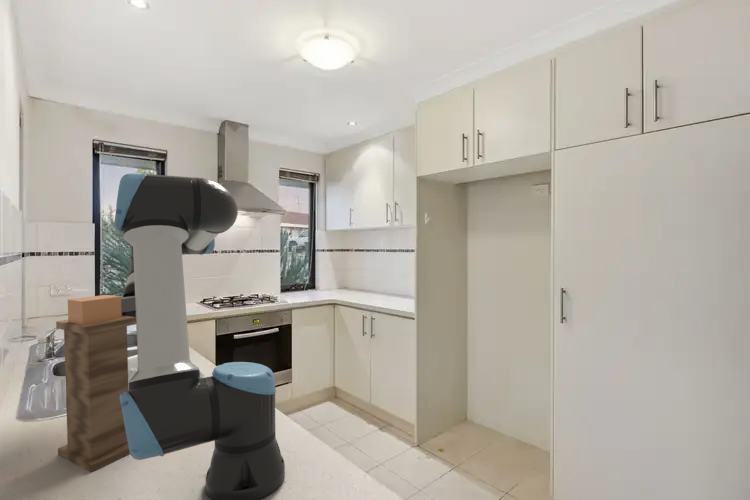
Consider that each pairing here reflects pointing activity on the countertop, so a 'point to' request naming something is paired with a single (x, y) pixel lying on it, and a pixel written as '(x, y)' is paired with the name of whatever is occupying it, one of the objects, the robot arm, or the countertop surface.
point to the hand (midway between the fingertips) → (125, 351)
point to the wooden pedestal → (95, 391)
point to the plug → (99, 308)
